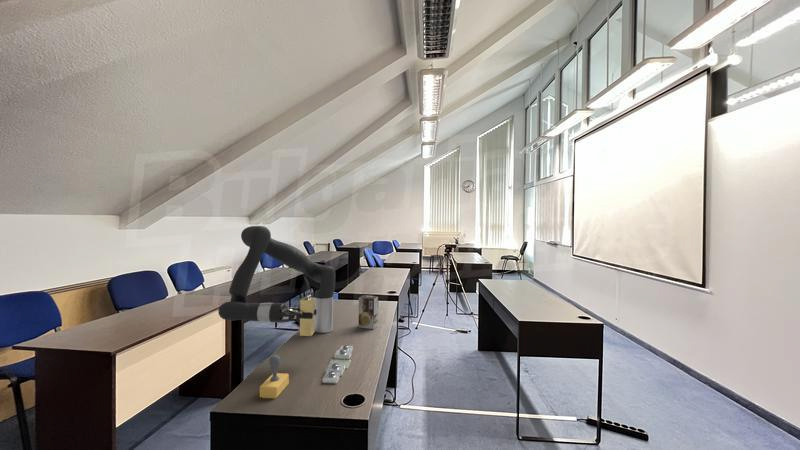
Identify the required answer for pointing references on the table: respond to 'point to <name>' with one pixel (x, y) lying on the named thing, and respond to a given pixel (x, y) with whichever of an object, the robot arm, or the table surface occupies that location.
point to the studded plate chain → (338, 364)
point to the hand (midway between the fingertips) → (314, 313)
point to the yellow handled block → (274, 380)
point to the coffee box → (368, 311)
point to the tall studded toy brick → (307, 324)
